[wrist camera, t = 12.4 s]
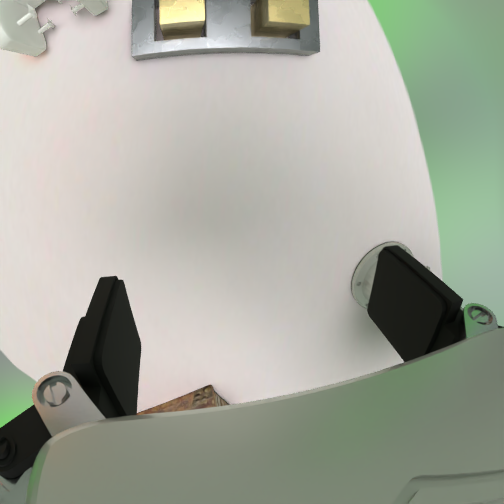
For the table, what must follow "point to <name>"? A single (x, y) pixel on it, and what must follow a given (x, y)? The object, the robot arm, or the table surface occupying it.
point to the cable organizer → (32, 24)
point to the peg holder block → (233, 29)
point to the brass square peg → (181, 18)
